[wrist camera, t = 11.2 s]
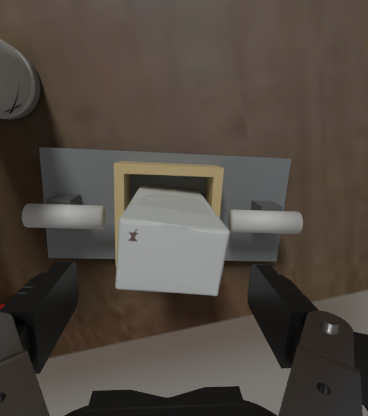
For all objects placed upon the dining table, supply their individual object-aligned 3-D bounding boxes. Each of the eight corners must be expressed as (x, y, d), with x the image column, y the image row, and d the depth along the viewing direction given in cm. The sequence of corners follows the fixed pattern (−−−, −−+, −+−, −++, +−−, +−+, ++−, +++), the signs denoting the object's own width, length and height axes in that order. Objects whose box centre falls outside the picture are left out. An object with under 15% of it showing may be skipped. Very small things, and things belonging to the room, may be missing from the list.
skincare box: (136, 225, 25) (110, 290, 14) (140, 183, 24) (116, 215, 13) (196, 231, 26) (219, 299, 14) (202, 191, 25) (232, 228, 13)
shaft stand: (54, 252, 27) (22, 281, 21) (46, 147, 24) (7, 146, 18) (270, 255, 29) (298, 284, 23) (284, 158, 26) (319, 161, 20)
